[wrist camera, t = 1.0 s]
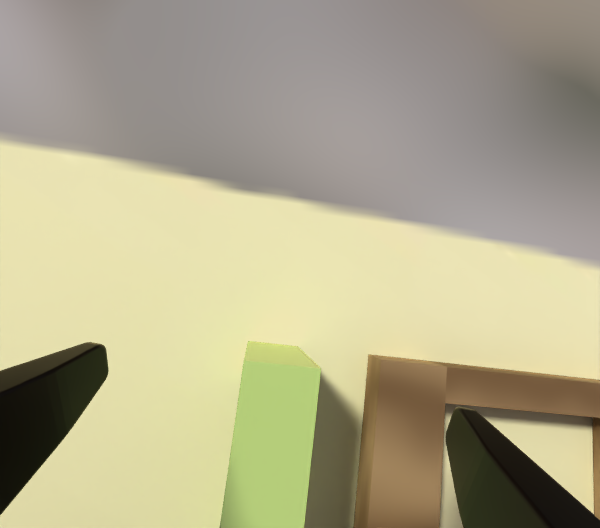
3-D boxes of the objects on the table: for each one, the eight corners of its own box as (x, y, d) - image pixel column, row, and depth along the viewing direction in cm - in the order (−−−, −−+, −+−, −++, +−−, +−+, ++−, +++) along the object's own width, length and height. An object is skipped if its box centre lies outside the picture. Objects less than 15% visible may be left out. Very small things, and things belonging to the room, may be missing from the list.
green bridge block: (270, 569, 17) (280, 741, 10) (215, 567, 17) (188, 744, 10) (297, 346, 19) (321, 368, 12) (248, 341, 19) (244, 360, 12)
